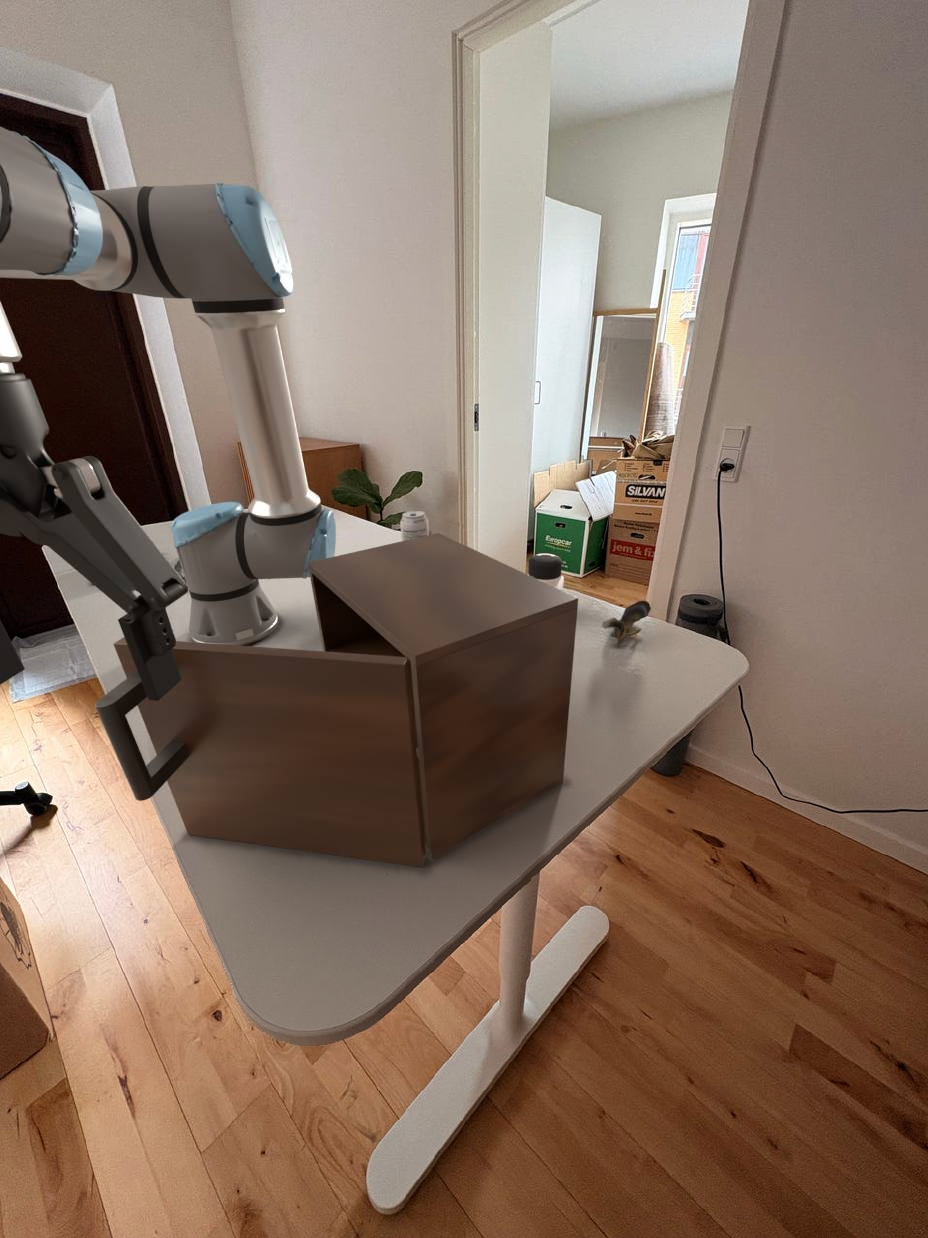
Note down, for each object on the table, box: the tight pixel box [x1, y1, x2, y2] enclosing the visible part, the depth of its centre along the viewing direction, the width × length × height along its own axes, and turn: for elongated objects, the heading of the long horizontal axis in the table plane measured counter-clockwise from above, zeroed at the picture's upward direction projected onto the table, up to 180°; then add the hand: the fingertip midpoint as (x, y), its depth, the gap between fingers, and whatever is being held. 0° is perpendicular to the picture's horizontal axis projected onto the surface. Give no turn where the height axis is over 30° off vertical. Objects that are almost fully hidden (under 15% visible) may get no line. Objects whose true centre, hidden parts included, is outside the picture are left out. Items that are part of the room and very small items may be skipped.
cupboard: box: [308, 532, 579, 859], centre depth 60 cm, size 18×26×24 cm
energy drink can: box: [399, 510, 430, 541], centre depth 114 cm, size 6×6×15 cm
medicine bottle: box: [526, 553, 565, 591], centre depth 96 cm, size 7×7×12 cm
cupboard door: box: [94, 636, 427, 868], centre depth 46 cm, size 7×26×24 cm, turn 80°
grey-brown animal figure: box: [601, 600, 652, 648], centre depth 89 cm, size 8×7×9 cm
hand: (83, 684), depth 39 cm, fingers open, 13 cm apart
